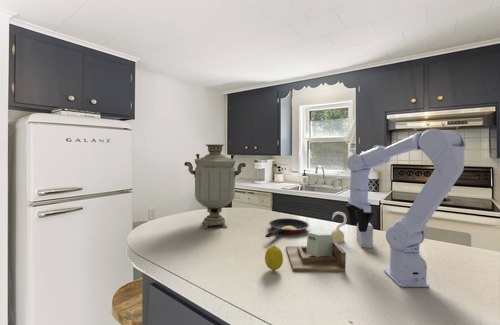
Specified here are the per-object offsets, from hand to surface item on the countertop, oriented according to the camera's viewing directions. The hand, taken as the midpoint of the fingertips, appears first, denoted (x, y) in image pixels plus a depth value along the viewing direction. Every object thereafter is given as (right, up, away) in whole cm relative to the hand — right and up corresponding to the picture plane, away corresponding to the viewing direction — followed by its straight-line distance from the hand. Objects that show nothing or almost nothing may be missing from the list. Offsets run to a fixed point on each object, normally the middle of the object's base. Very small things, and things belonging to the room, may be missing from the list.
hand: (357, 228), depth 89 cm
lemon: (-30, -11, -10) cm, 34 cm away
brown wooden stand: (-16, -10, -1) cm, 19 cm away
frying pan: (-23, -9, +26) cm, 36 cm away
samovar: (-54, -8, +40) cm, 68 cm away
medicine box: (+8, -10, +13) cm, 19 cm away
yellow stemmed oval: (-1, -10, +18) cm, 20 cm away
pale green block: (-14, -9, -1) cm, 16 cm away
